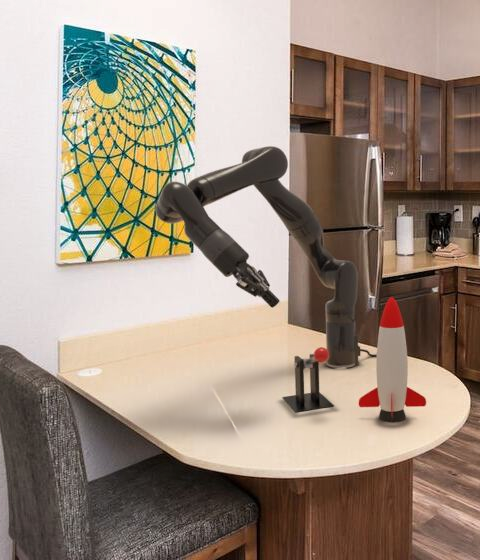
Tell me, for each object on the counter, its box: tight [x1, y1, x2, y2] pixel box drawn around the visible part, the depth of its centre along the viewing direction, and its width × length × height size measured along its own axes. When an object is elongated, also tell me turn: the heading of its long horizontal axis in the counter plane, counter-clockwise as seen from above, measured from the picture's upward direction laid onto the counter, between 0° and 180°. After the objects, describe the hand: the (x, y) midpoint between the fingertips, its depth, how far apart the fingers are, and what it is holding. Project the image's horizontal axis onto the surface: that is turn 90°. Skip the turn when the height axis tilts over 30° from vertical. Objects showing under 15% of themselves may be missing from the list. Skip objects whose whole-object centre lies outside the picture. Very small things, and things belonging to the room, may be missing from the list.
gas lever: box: [302, 346, 329, 371], centre depth 151 cm, size 16×4×4 cm, turn 23°
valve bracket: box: [282, 353, 335, 414], centre depth 157 cm, size 12×10×13 cm
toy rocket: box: [358, 296, 427, 424], centre depth 147 cm, size 11×11×30 cm
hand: (276, 304), depth 145 cm, fingers closed
